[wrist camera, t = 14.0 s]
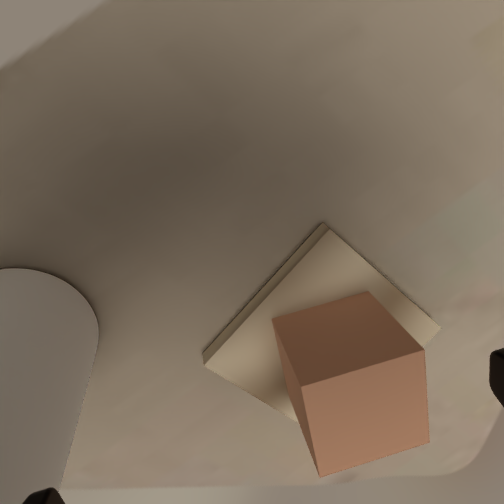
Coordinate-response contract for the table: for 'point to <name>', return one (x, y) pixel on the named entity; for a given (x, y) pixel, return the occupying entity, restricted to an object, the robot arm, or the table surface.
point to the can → (40, 378)
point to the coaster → (296, 299)
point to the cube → (353, 381)
